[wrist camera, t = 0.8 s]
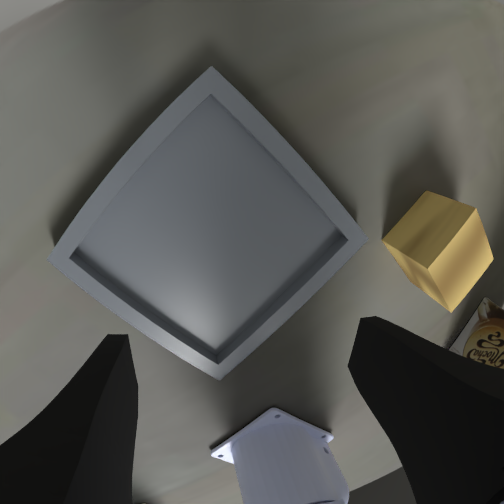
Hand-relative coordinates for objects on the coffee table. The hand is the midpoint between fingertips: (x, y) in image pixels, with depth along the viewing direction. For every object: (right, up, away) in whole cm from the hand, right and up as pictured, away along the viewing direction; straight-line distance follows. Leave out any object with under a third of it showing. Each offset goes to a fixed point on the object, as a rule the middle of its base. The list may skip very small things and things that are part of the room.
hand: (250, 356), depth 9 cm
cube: (+12, +4, +12) cm, 18 cm away
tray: (-2, +4, +9) cm, 10 cm away
